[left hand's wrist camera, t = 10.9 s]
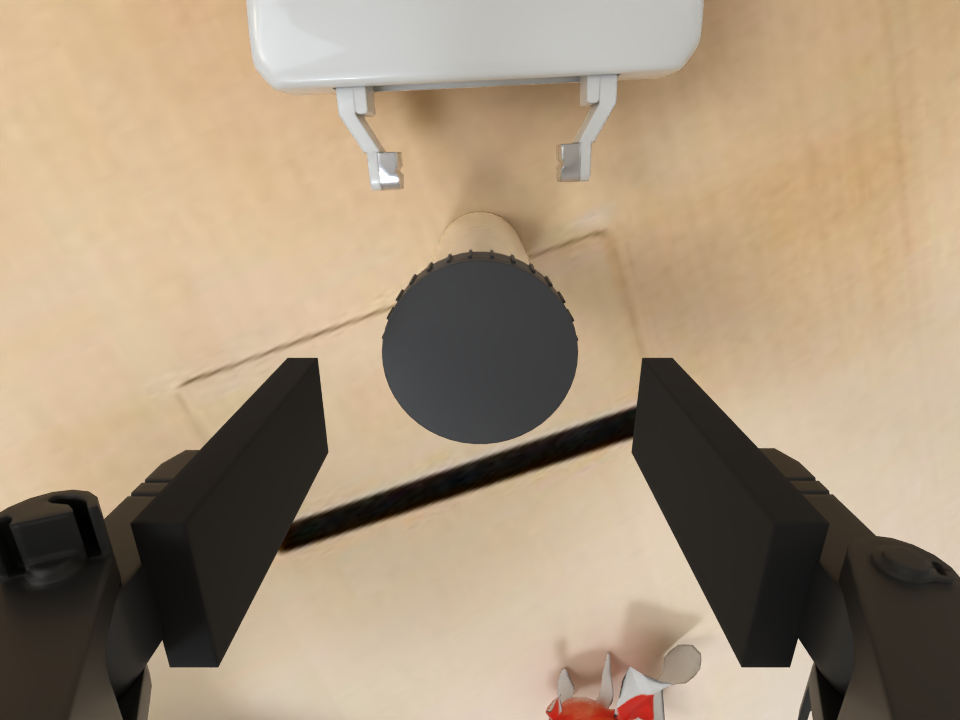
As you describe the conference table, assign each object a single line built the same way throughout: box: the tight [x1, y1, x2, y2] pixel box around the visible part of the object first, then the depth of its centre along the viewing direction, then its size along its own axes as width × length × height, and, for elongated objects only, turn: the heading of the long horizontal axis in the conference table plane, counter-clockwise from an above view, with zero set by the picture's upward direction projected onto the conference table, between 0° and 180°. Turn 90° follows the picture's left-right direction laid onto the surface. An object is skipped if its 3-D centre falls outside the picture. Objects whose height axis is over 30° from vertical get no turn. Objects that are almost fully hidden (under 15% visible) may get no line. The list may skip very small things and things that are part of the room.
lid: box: [382, 249, 578, 444], centre depth 18 cm, size 6×6×2 cm
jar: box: [427, 212, 531, 267], centre depth 27 cm, size 6×6×19 cm
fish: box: [546, 645, 701, 720], centre depth 44 cm, size 11×16×10 cm
